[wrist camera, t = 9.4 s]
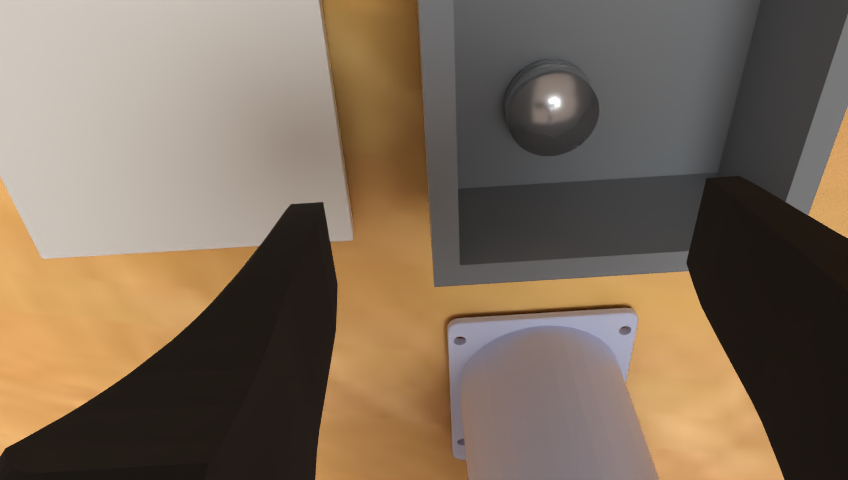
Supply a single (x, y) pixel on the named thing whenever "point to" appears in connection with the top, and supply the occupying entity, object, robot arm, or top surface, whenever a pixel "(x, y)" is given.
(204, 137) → the white slab
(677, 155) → the gray open box
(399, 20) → the top surface
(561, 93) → the chrome dome knob
